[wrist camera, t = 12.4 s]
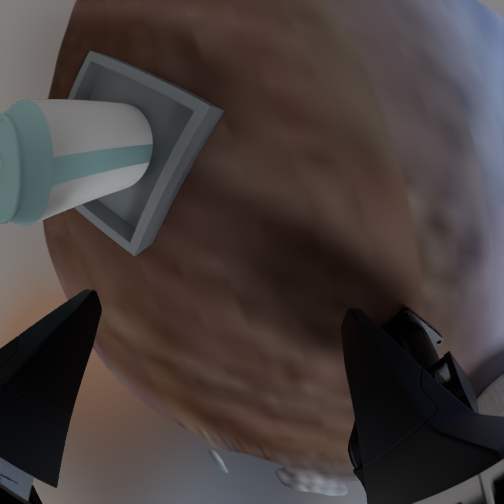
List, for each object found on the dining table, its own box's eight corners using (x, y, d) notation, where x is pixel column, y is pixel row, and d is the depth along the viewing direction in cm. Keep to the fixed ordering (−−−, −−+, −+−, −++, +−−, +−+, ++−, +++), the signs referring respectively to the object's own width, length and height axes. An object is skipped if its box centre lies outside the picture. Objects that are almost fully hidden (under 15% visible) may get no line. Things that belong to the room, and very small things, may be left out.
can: (86, 178, 21) (-25, 216, 11) (99, 100, 19) (-22, 102, 8) (148, 197, 21) (27, 255, 10) (166, 109, 18) (33, 100, 7)
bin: (224, 110, 18) (210, 105, 16) (152, 243, 24) (134, 256, 21) (111, 56, 18) (89, 50, 15) (63, 174, 23) (42, 180, 20)
